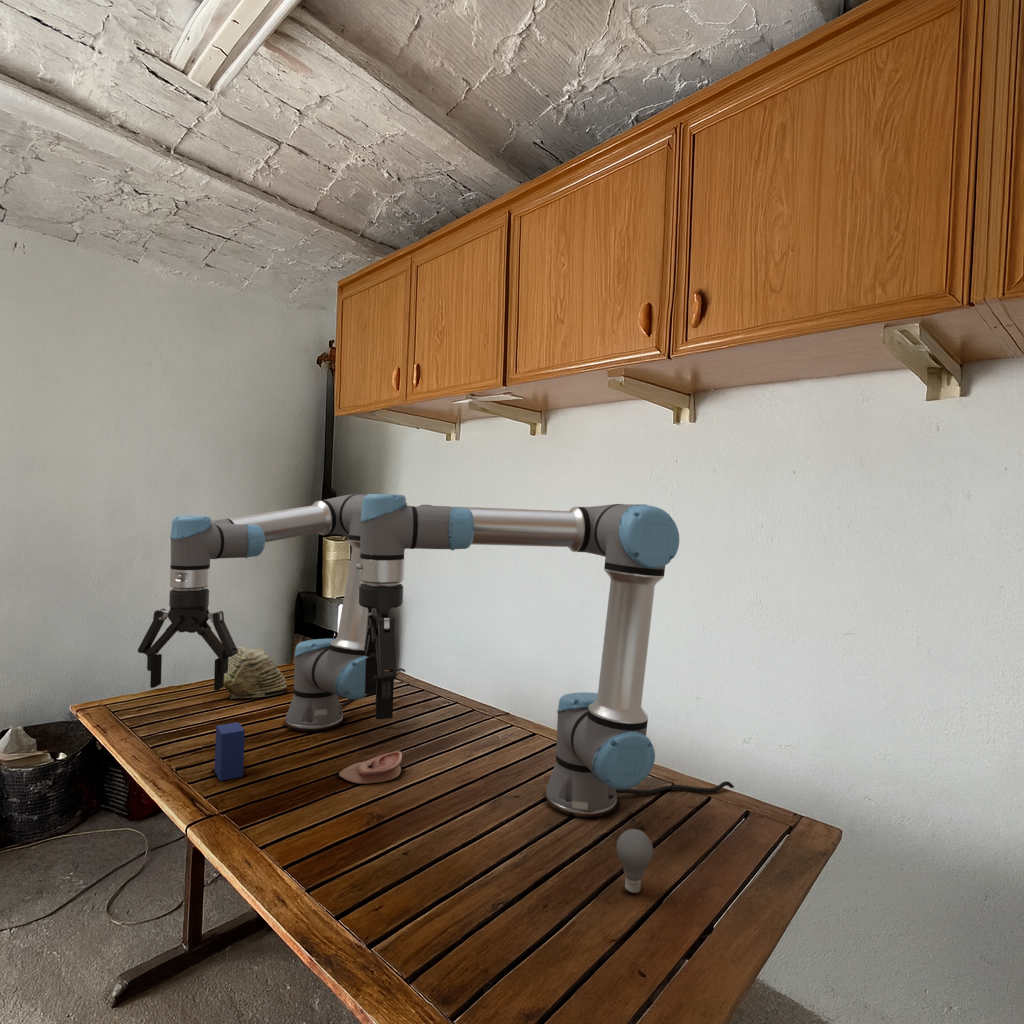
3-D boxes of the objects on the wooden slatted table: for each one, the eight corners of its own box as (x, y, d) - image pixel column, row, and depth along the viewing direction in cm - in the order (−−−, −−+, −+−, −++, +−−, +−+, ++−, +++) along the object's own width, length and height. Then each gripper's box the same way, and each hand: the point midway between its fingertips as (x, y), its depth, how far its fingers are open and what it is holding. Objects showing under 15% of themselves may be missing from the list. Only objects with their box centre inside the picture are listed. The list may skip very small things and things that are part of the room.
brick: (220, 781, 139) (221, 734, 139) (214, 771, 144) (216, 725, 143) (243, 776, 142) (244, 730, 141) (236, 766, 146) (238, 721, 146)
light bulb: (610, 879, 108) (613, 822, 108) (644, 879, 109) (647, 822, 109) (619, 902, 102) (622, 840, 102) (655, 901, 103) (658, 840, 103)
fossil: (218, 695, 195) (220, 647, 195) (278, 685, 208) (279, 640, 207) (228, 703, 189) (230, 653, 188) (289, 692, 201) (290, 645, 201)
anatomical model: (332, 762, 141) (355, 743, 152) (332, 780, 141) (355, 759, 153) (388, 770, 139) (407, 750, 150) (388, 788, 139) (407, 766, 150)
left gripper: (120, 588, 131) (118, 690, 132) (240, 593, 131) (237, 695, 131) (142, 583, 139) (140, 679, 139) (255, 588, 138) (252, 684, 139)
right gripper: (351, 574, 120) (348, 685, 120) (369, 594, 96) (364, 732, 97) (391, 573, 122) (388, 682, 123) (417, 593, 99) (413, 728, 99)
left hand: (187, 687), depth 135 cm, fingers open, 13 cm apart
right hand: (377, 705), depth 110 cm, fingers open, 13 cm apart
